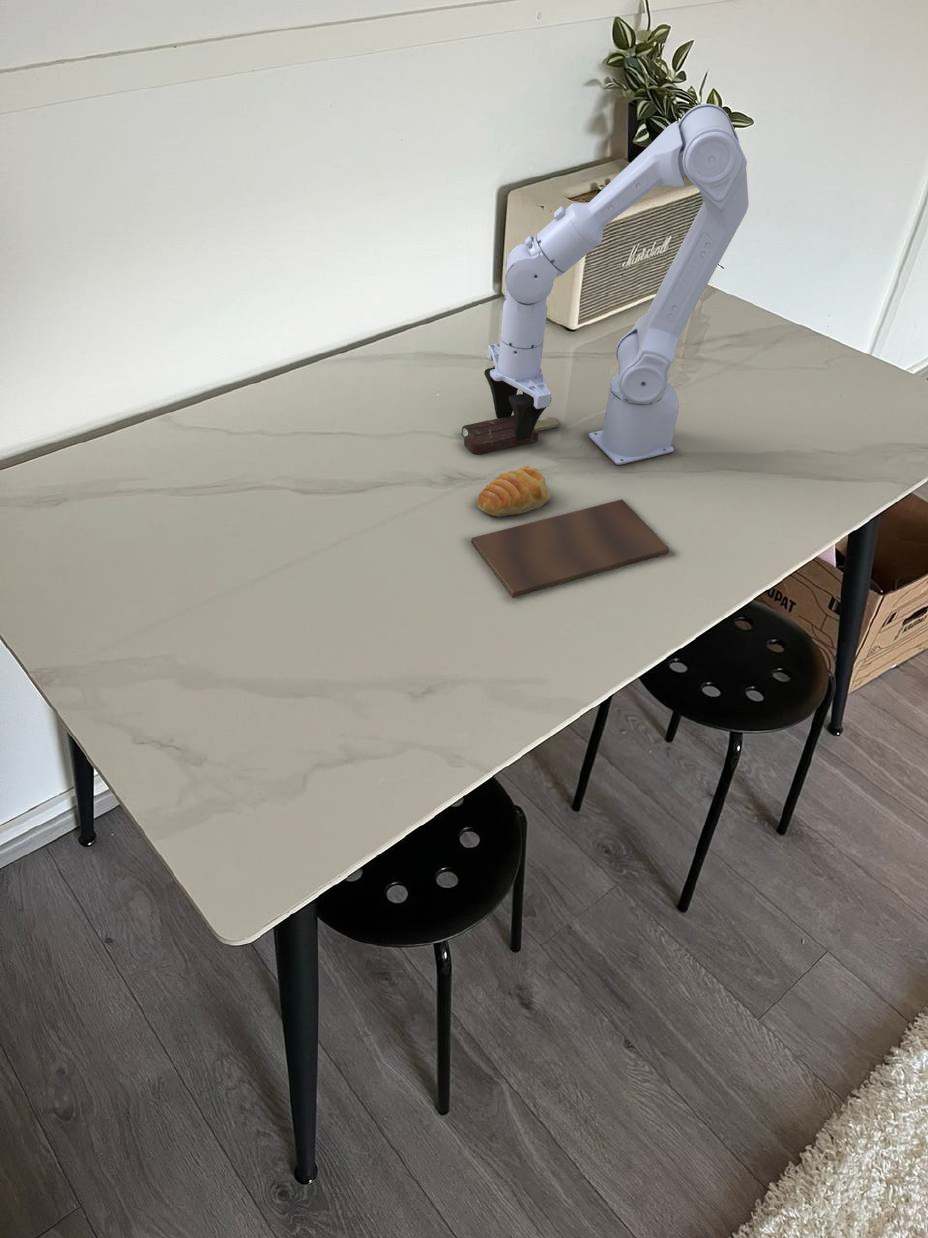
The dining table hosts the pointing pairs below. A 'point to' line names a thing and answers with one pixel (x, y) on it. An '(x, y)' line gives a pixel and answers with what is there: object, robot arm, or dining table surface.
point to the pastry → (514, 493)
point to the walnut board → (568, 547)
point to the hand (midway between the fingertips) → (512, 427)
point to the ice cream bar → (499, 434)
